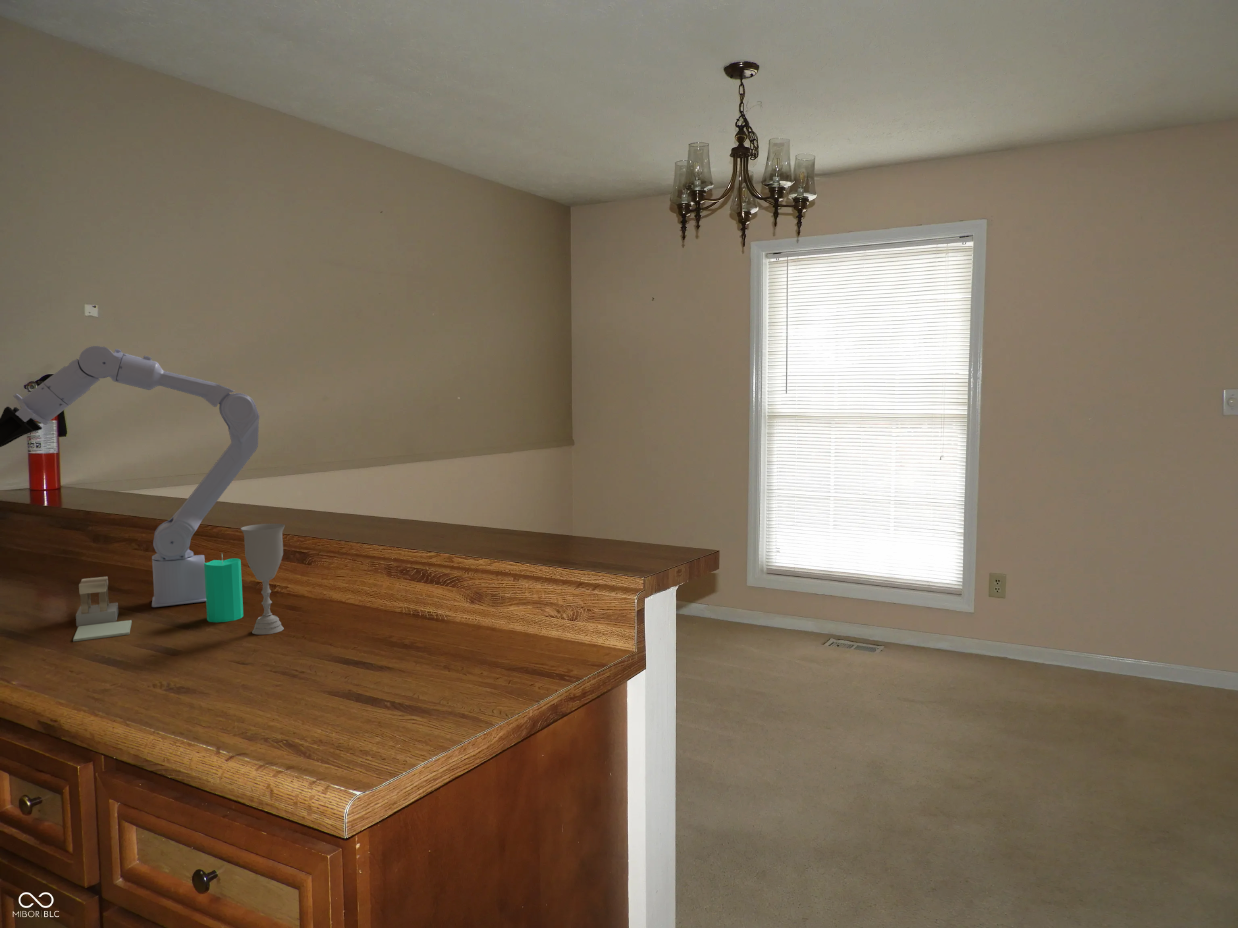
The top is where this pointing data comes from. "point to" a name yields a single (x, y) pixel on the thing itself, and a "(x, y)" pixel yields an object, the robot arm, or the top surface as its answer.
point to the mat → (102, 630)
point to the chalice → (264, 567)
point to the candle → (223, 590)
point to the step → (97, 615)
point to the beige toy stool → (92, 587)
